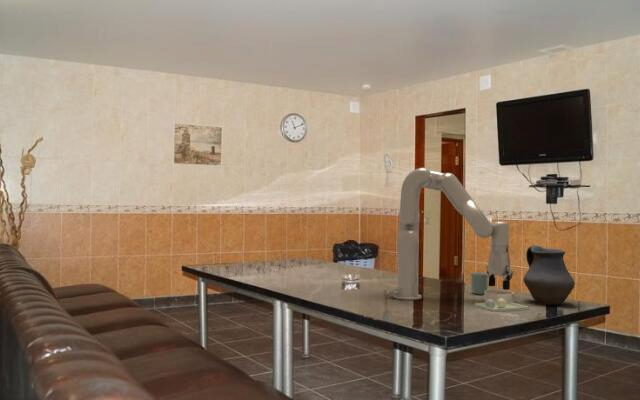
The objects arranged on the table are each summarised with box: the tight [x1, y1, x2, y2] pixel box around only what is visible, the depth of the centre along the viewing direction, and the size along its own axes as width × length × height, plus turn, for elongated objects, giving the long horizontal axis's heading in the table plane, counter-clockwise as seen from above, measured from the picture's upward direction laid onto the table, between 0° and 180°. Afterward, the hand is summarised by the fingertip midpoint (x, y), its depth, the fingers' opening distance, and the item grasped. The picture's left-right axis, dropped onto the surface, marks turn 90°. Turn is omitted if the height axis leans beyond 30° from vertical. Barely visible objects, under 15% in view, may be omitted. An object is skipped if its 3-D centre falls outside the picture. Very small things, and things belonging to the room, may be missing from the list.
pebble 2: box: [496, 298, 507, 308], centre depth 221 cm, size 4×4×4 cm
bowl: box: [483, 289, 516, 303], centre depth 236 cm, size 12×12×4 cm
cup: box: [470, 271, 489, 296], centre depth 258 cm, size 8×8×10 cm
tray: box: [474, 302, 530, 313], centre depth 221 cm, size 17×12×2 cm
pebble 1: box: [484, 299, 495, 308], centre depth 219 cm, size 4×4×4 cm
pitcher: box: [522, 244, 576, 306], centre depth 235 cm, size 21×22×25 cm
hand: (498, 287), depth 238 cm, fingers open, 9 cm apart
